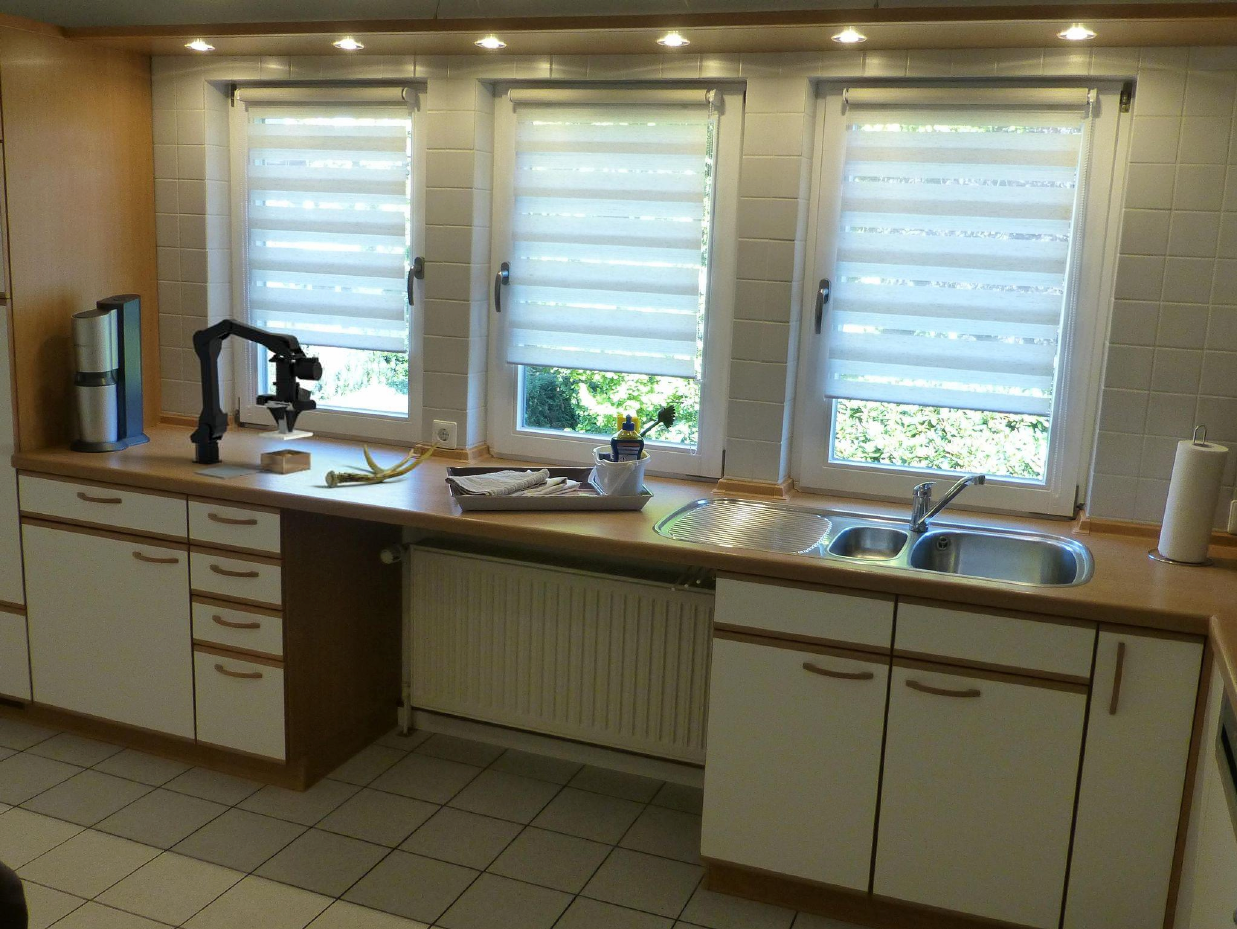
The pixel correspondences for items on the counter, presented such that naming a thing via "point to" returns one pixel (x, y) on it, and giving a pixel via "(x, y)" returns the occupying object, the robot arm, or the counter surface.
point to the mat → (226, 471)
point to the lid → (285, 432)
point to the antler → (376, 470)
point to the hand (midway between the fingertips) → (286, 431)
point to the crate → (285, 461)
